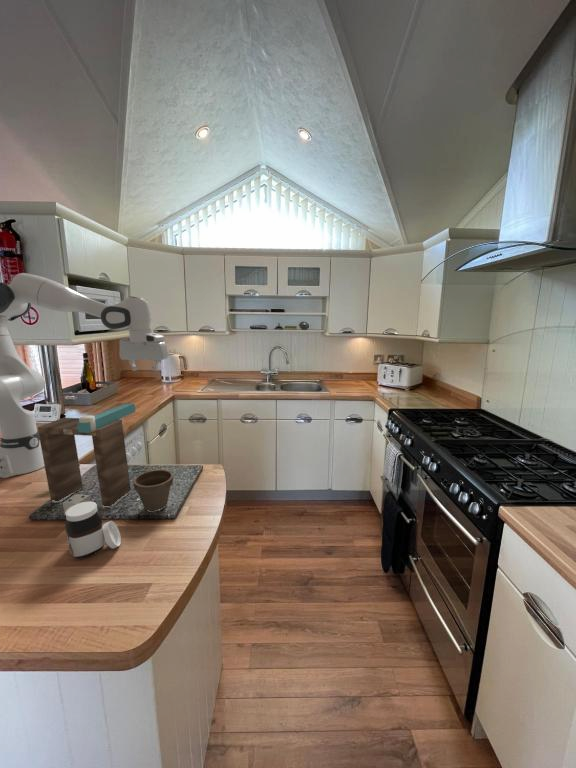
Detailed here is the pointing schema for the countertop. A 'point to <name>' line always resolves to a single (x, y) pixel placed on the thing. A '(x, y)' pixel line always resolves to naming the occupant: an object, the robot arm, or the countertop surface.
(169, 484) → the flower pot
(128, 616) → the countertop surface
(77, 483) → the walnut shelf
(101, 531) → the spread jar
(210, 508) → the countertop surface
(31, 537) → the countertop surface
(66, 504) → the ivory die
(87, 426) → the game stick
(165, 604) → the countertop surface
